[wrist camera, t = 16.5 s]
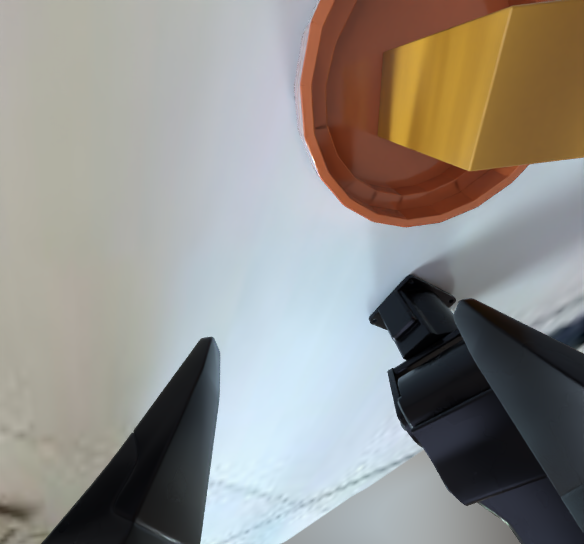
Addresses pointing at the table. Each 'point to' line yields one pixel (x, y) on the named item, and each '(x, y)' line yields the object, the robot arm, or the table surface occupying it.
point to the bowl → (365, 111)
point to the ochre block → (491, 89)
